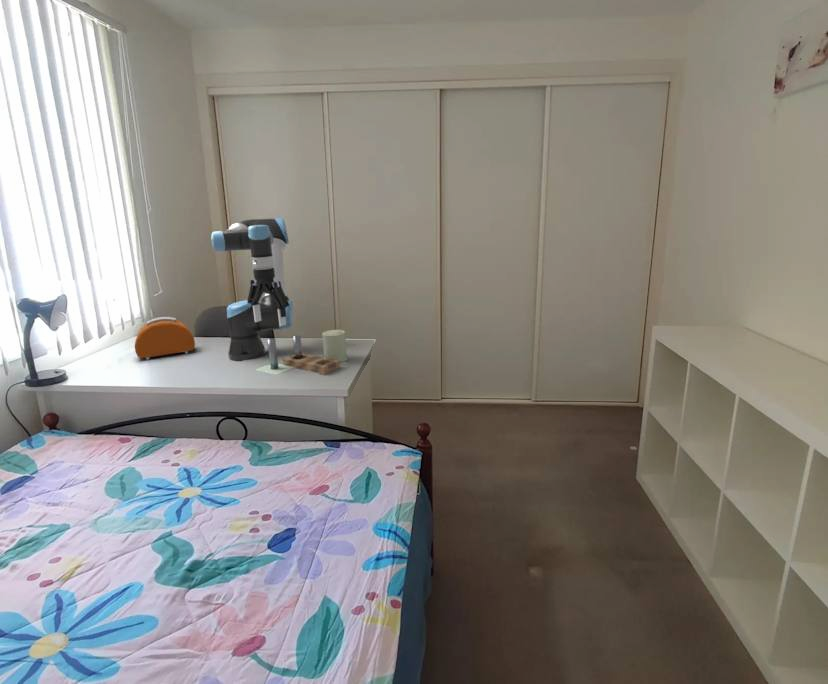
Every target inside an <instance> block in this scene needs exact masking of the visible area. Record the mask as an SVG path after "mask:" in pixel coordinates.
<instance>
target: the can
mask: <svg viewBox="0 0 828 684" xmlns="http://www.w3.org/2000/svg"><path fill="white" fill-rule="evenodd" d="M321 334H322V335H321V336H322V346H323V352H324V353H323V355H324V356H323V357H324V358H329V359H334V360H339V361H340V363H341V362H346V361H347V360H348V357H347V356H348V355H347V346H346V345H347V344H346V332H345V330H343V329H331V330H330V329H329V330H326V331H323V332H322V333H321Z"/></svg>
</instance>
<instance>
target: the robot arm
mask: <svg viewBox="0 0 828 684" xmlns="http://www.w3.org/2000/svg"><path fill="white" fill-rule="evenodd" d="M286 226H287V225H286V223H285V220H284V219H283V218H281V217H279V218H278V217H277V218H276V217H273V218H255V219H254V218H253V219H245V220H241V221H239V222H236V223H232V224H231V226H230V227H229V228H228V229H226V230H217V231H215V230H214V231H212V233H211V244H212V249H213V250H214V251H215V252H231V251H246V250H247V251H248V250H250V253H251V263H252V268H253V279H251V280H249V281H250V286H249V291H248V296H247V299H245V300H240V301H236V302H233V303H231V304H229V305H228V306H227V307H226V318H227V323H228V330H229V336H230V341H229V342H230V343H229V347H228V352H227V353H228V359H230V360H231V361H238V362H239V361H240V362H241V361H249V360H252V359H253V360H254V359H257V358H261V357H263V356H264V355H266V347H265V345H264V343H263V341H262V339H261V337H260V332H261V331H272V330H273V331H274V330H282V329H289V328H291V327H292V325H293V320H294V303H293V301H292V300H290V297H289V296H288V295H286V288H285V271H284V269H285V268H284V256H283V254H284V253H283V251H284V250H285V249H286V248H287V247H286V245H289V241H290V240H289V236H288V232H287V227H286ZM263 294H264V295H263ZM262 295H263V296H262ZM259 301H261V302H259ZM259 331H260V332H259Z"/></svg>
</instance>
